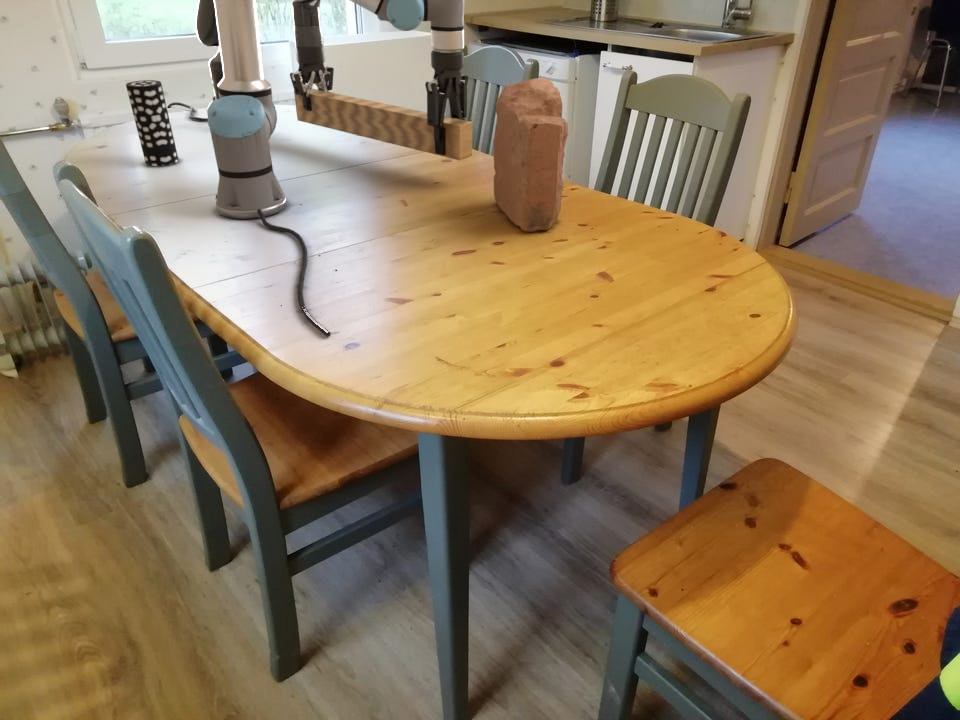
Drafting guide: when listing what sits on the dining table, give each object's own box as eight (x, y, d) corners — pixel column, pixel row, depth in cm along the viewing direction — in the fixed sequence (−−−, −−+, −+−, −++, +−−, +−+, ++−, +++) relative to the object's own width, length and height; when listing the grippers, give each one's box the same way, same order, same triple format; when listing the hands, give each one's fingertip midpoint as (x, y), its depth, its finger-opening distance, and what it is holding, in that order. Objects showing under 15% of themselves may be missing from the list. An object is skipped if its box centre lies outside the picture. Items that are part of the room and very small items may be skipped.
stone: (573, 229, 148) (583, 90, 134) (525, 235, 145) (529, 94, 131) (535, 200, 166) (540, 75, 151) (491, 204, 163) (492, 77, 148)
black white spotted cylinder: (184, 157, 190) (167, 80, 179) (169, 166, 183) (151, 87, 172) (155, 156, 190) (136, 79, 179) (139, 165, 183) (119, 86, 172)
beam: (472, 155, 170) (472, 121, 166) (459, 160, 167) (459, 125, 162) (310, 117, 200) (307, 87, 195) (297, 120, 196) (293, 90, 192)
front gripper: (458, 43, 166) (458, 141, 179) (408, 52, 154) (412, 156, 167) (483, 47, 163) (481, 146, 175) (434, 56, 150) (436, 162, 163)
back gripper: (320, 38, 191) (326, 102, 200) (278, 44, 181) (286, 111, 190) (338, 41, 187) (344, 106, 196) (297, 47, 177) (305, 116, 187)
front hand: (447, 151), depth 171 cm, fingers closed on beam, 5 cm apart
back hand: (315, 108), depth 193 cm, fingers closed on beam, 5 cm apart
